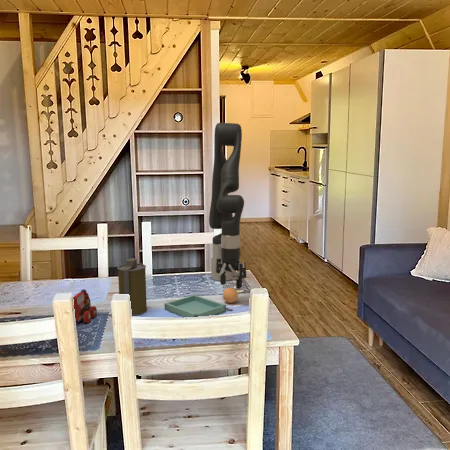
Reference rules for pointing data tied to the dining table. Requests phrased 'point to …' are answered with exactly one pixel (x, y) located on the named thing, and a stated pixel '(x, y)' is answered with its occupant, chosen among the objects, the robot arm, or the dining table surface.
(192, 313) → the tray
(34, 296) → the dining table surface
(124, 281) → the canister
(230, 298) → the ball
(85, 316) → the toy fire truck
